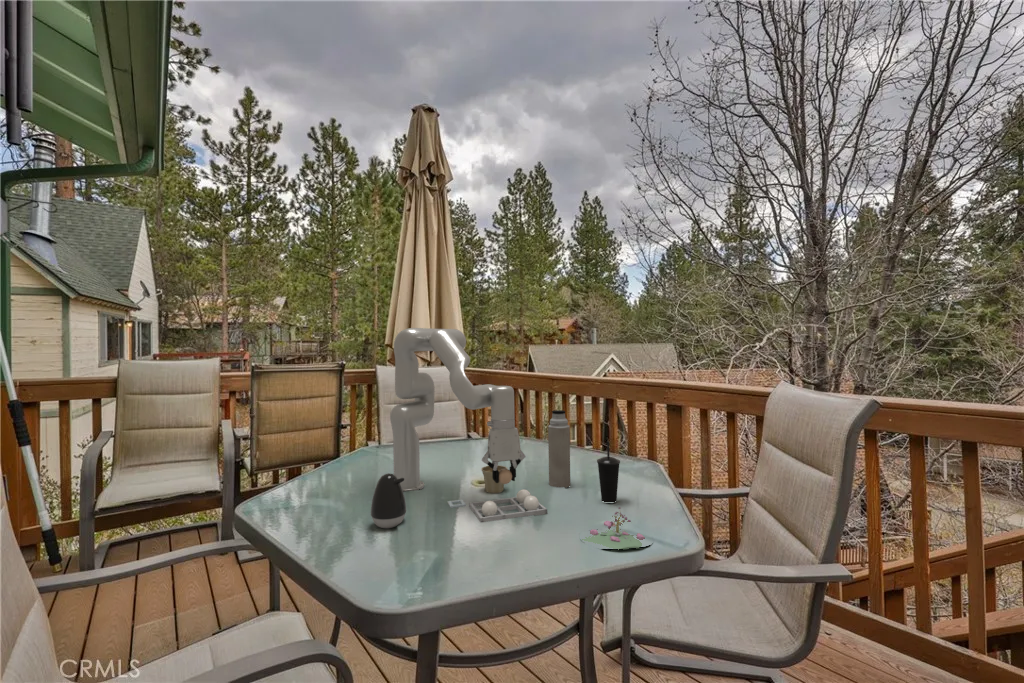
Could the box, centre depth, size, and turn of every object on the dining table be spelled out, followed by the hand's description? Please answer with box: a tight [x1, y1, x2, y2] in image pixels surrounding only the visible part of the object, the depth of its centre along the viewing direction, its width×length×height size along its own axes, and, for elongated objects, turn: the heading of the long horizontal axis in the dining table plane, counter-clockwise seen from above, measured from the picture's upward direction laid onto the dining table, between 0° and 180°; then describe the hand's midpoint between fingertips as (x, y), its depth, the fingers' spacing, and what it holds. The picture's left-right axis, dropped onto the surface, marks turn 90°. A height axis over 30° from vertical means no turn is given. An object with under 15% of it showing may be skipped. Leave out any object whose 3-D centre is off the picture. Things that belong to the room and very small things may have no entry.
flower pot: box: [480, 464, 509, 494], centre depth 169 cm, size 9×9×9 cm
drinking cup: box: [596, 441, 621, 502], centre depth 157 cm, size 8×8×20 cm
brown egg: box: [499, 469, 512, 485], centre depth 151 cm, size 5×5×5 cm
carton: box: [468, 496, 548, 523], centre depth 148 cm, size 21×14×2 cm
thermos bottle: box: [547, 409, 571, 489], centre depth 176 cm, size 8×8×28 cm
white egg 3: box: [524, 495, 540, 511], centre depth 147 cm, size 5×5×5 cm
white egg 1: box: [481, 500, 498, 517], centre depth 143 cm, size 5×5×5 cm
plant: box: [582, 507, 645, 551], centre depth 132 cm, size 25×21×9 cm
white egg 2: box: [515, 488, 532, 504], centre depth 154 cm, size 5×5×5 cm
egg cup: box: [447, 499, 467, 509], centre depth 154 cm, size 6×6×1 cm
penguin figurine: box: [370, 473, 407, 529], centre depth 139 cm, size 10×10×15 cm
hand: (504, 480), depth 152 cm, fingers closed on brown egg, 4 cm apart
